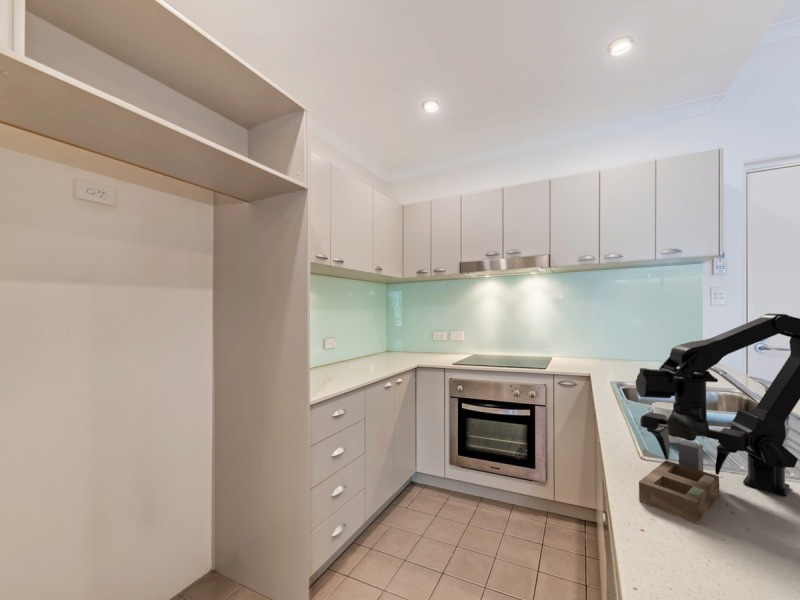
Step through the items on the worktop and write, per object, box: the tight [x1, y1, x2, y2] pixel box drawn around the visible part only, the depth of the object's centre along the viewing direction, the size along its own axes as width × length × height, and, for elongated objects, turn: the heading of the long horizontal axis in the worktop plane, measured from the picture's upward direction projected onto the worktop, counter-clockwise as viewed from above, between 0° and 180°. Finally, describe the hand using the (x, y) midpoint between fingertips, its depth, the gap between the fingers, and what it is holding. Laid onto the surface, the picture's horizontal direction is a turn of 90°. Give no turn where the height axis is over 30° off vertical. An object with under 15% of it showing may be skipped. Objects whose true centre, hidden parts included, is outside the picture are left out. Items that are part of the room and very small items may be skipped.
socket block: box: [638, 460, 720, 525], centre depth 73 cm, size 16×9×4 cm, turn 126°
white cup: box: [652, 401, 685, 444], centre depth 104 cm, size 8×8×10 cm
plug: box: [678, 439, 704, 472], centre depth 81 cm, size 4×4×8 cm
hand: (691, 466), depth 81 cm, fingers open, 9 cm apart
